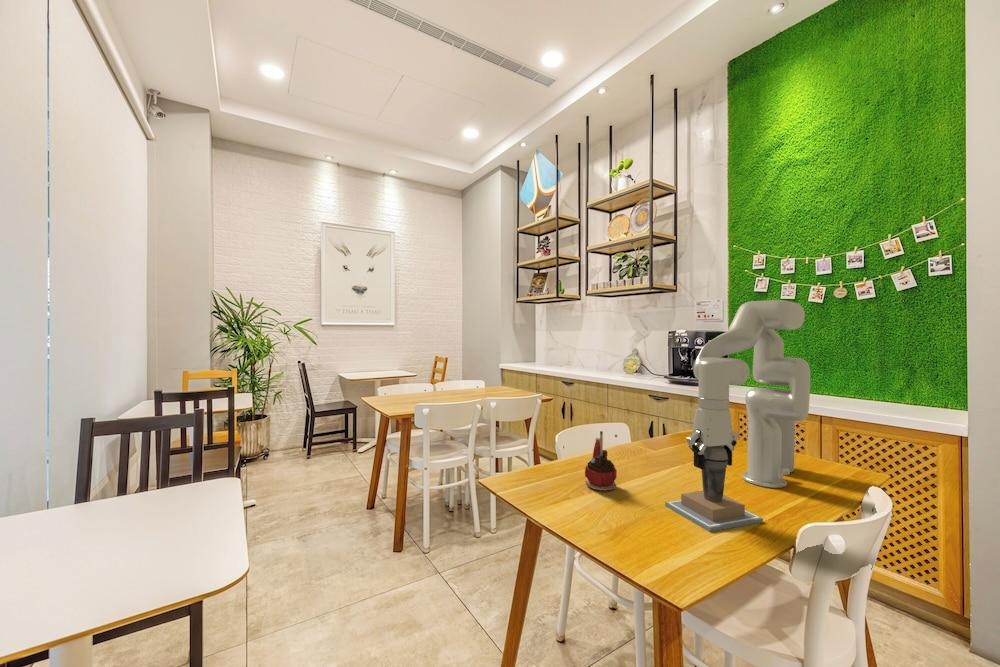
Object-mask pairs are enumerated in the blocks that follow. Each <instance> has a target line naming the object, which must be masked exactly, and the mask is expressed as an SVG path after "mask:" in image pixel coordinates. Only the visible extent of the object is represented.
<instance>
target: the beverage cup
mask: <svg viewBox="0 0 1000 667" xmlns="http://www.w3.org/2000/svg"><path fill="white" fill-rule="evenodd" d="M703 455H704V456H705V462H704V469H701V478H702V479H701V480H702V491H703V492H704V498H705V499H706V500H708V501H711V502H722V498H723V495H724V490H725V483H726V482H725V481H726V480H725V479H726V471H727V467H728V465H727V464H728V455H727V452H726V450H725V449H724V448H723V447H722V446H716V447H706V449H705V451H704V452H703Z"/></svg>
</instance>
